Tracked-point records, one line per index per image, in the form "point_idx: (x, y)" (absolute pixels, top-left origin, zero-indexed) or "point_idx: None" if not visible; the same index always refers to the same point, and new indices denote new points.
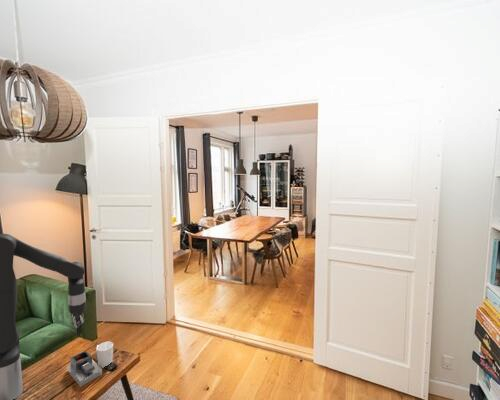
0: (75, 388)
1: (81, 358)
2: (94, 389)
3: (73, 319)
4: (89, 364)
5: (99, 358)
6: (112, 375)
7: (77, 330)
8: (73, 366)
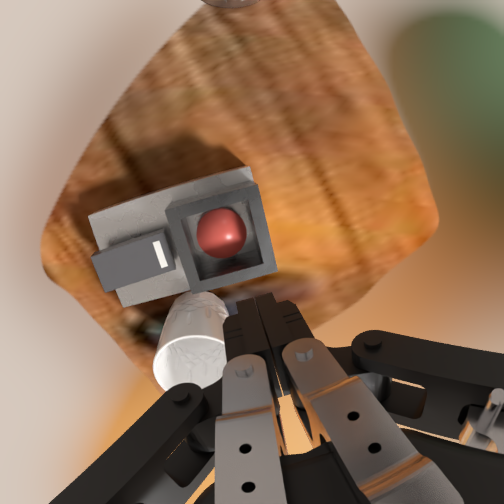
0: (99, 191)
1: (246, 237)
2: (59, 258)
3: (361, 440)
4: (142, 271)
5: (173, 317)
6: (104, 324)
7: (240, 339)
8: (205, 193)
